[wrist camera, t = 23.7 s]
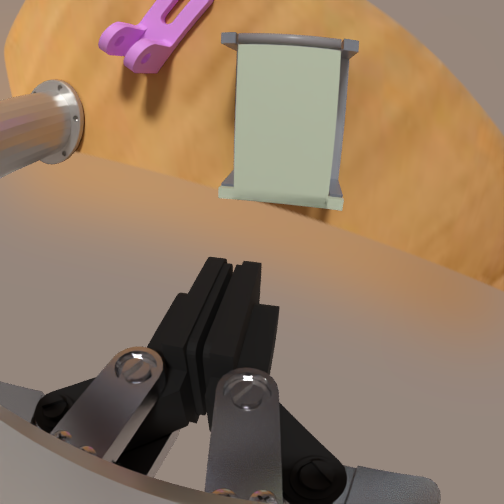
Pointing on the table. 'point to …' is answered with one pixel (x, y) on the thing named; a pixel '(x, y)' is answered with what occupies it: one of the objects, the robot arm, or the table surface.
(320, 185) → the lid
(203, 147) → the table surface
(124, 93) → the table surface
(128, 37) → the bracket
